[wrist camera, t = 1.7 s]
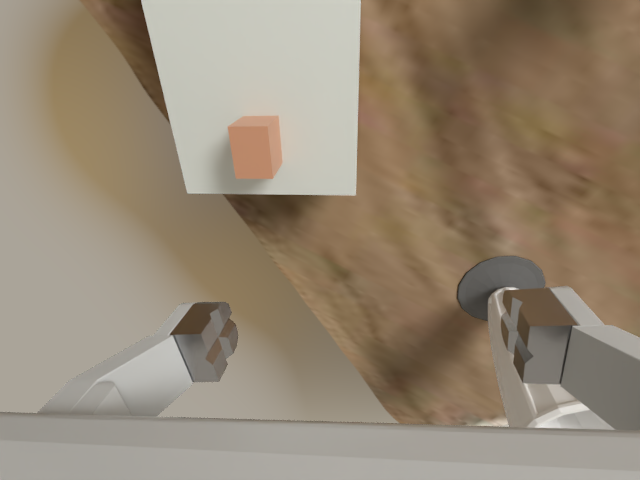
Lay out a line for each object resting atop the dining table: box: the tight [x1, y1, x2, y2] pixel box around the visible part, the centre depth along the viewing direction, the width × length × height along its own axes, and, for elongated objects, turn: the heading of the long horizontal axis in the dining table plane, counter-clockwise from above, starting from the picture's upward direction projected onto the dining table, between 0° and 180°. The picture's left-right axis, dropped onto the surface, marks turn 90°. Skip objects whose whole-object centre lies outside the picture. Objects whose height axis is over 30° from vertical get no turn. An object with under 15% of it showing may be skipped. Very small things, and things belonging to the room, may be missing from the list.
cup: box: [457, 256, 615, 430], centre depth 39 cm, size 12×12×22 cm
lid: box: [141, 0, 361, 195], centre depth 25 cm, size 22×16×5 cm
